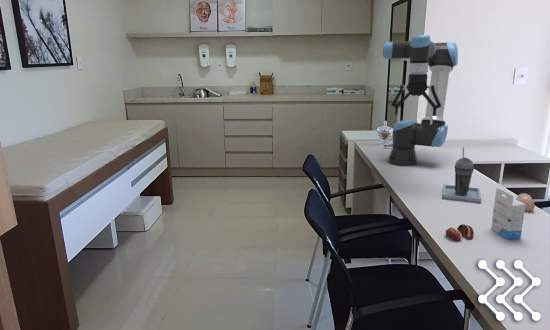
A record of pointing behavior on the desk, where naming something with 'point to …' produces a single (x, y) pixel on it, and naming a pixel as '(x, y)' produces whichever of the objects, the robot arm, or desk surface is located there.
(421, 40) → the robot arm
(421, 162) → the desk surface
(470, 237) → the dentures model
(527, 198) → the brown egg
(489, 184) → the desk surface
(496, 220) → the ink box
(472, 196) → the tray
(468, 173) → the beverage cup
